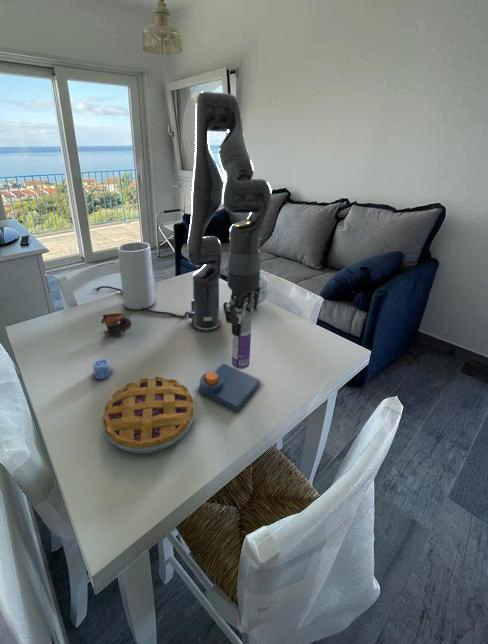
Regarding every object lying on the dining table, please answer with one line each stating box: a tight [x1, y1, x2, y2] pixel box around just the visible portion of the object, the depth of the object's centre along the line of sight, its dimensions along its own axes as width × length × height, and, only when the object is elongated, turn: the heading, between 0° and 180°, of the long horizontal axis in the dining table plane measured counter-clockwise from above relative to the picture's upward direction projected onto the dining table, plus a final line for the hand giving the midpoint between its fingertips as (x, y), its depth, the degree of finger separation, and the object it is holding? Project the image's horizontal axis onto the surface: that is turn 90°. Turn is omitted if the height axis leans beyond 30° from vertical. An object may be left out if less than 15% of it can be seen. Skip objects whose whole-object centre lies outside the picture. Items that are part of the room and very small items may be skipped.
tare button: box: [206, 371, 218, 385], centre depth 85 cm, size 3×3×2 cm
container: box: [231, 309, 252, 370], centre depth 82 cm, size 5×5×15 cm
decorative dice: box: [92, 358, 110, 380], centre depth 92 cm, size 4×4×4 cm
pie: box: [101, 376, 196, 454], centre depth 76 cm, size 22×22×5 cm
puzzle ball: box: [257, 271, 270, 306], centre depth 130 cm, size 15×15×15 cm
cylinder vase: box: [117, 241, 155, 311], centre depth 129 cm, size 12×12×25 cm
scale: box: [198, 363, 261, 412], centre depth 86 cm, size 12×12×4 cm
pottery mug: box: [100, 312, 132, 338], centre depth 113 cm, size 12×9×8 cm
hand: (241, 330), depth 81 cm, fingers closed on container, 4 cm apart
